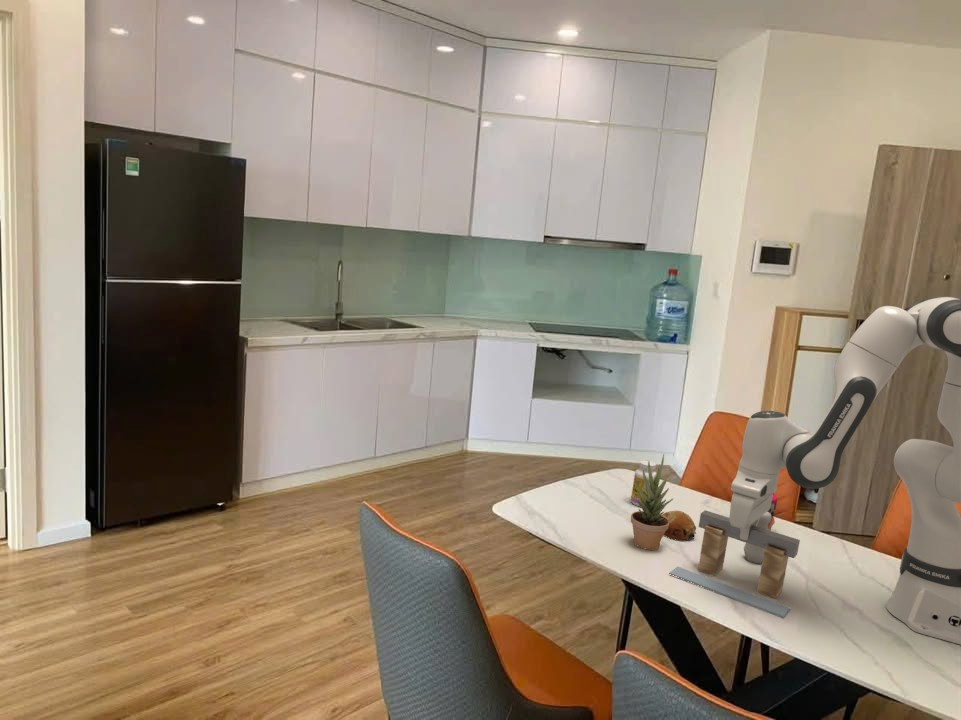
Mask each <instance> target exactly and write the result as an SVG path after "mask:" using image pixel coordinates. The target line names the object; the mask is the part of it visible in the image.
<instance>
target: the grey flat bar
mask: <svg viewBox="0 0 961 720" xmlns="http://www.w3.org/2000/svg"><path fill="white" fill-rule="evenodd" d="M669 574H671V575H674V576H677V577H679V578H682V579H684V580H687V581H689V582H692V583H694V584H693V585H695V584H696V585H695V586H697V585H699V586H698V587H700V586H702V587H704V588H703V589H705V588H706V589H705V590H708V589H709V590H708V591H710V590H711V592H713V591H714V593H716V594H719V595H721V596H724V597H727V598H729V599H731V600H734V601H737V602H740V603H742V604H744V605H748V606H749V607H753V608H755V609H758V610H761V611H763V612H766V613H768V614H771V615H773V616H775V617H776V616H777V617H779V618H782V619H785V617H786V616H787V615H788V614H789V612H790V611H791V607H790V606H789V607H788V606H786V605H783V604H780V603H778V602H775V601H772V600H770V599H767V598H764V597H762V596H759V595H757V594H753V593H751V592H748V591H746V590H743V589H739V588H737V587H736V586H735V587H734V586H731V585H729V584H726V583H723V582H720V581H719V580H716V579H713V578H710V577H708V576H705V575H703V574H700V573H696V572H694V571H692V570H689V569H685V568H683V567H680V566H676V567H675V568H673V569H672V570H671V571H669V572H668V575H669ZM671 575H670V576H671ZM674 576H673V577H674ZM679 578H678V579H679ZM684 580H683V581H684ZM687 581H686V582H687ZM689 582H688V583H689ZM692 583H691V584H692ZM702 587H701V588H702Z"/></svg>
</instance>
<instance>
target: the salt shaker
mask: <svg viewBox="0 0 961 720" xmlns="http://www.w3.org/2000/svg"><path fill="white" fill-rule="evenodd" d="M770 521H771V514H770V513H769V512H766V513H765V514H763V515H762V516H761V517H760V518H759V521H758V524H757V527H760V528H763V529H766V530H768V523H769V522H770ZM764 551H765V549H764V548H761V547H758V546H755V545H752V544H749V543H746V542H745V544H744V546H743V552H744V555H745V560H747V561H748V562H751V563H755V564H757V565H758V564H762V562H763V556H764Z"/></svg>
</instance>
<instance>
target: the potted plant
mask: <svg viewBox="0 0 961 720" xmlns="http://www.w3.org/2000/svg"><path fill="white" fill-rule="evenodd" d="M664 460H665V454H664V453H663V454H662V458H661V462H660V463H661V464H659V465H658V467H657V471H656V473H657V474H655V476H656V477H654V482H653V477H652V472H651V467H650V463H649V461H650V460H647V461H648V473H649V483H650V486H649V483H648V481H647V478H646V475H645V473H644V470H643V478H644V483H645V487H646V491H647V495H646V493H645V491H644V492H643V491H642V489H641V488H640V487H639V485H638V484H637V486H638V489H639V491H640V493H641V495H642V497H643V498H644V500H645V501H644V500H643V499H642V497H641V495H640V493H639V491H638V489H637V487H636V490H637V493H638V495H639V497H640V500H641V501H640V500H639V501H638V500H636V501H637V502H638V504H639V505H640V507H639V508H638V510H637V511H634V512H632V513H631V514H630V523H631V524H632V531H633V542H634V545H635V544H636V545H635V546H637V545H638V546H639V548H640V547H642V548H641V549H643V548H646V549H645V550H648V549H655V550H657V549H658V548H659V547H660V545H661V540H662V538H663V537H664V533H665V531H666V530H667V529H668V527H669V520H668V519H667V518H666V517H664V516H662V515H663V514H664V513H665V511H663V510H664V509H665V508H666V506H667V505H668V504H669V503H671V502H672V501H673V500H674V498H671V499H669V500H668V501H667V499H664V498H665V496H666V495H667V493H668V492H669V490H670V488H669V487H668V488H667V489H665V486H666V484H667V482H668V476H666V477H665V478H664V480H663V481H662V482H661V484H660V479H661V475H662V471H663V467H664V463H665V461H664ZM664 489H665V490H664ZM663 490H664V492H663ZM663 499H664V500H663ZM640 508H641V509H642V510H641V509H640ZM638 546H637V547H638Z"/></svg>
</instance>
